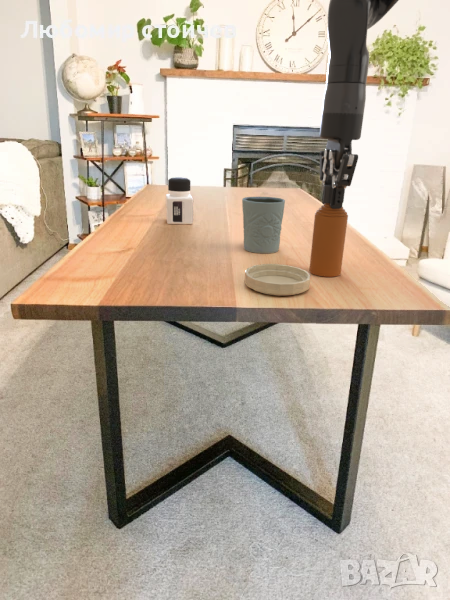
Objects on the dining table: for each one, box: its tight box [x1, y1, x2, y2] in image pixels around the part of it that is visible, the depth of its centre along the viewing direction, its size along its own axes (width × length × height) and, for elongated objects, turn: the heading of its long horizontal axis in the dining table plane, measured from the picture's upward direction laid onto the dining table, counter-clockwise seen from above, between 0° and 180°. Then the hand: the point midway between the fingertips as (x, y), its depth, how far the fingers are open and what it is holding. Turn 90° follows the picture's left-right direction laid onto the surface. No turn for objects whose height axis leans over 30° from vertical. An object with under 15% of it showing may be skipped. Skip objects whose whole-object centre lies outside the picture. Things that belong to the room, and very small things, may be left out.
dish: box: [244, 263, 312, 297], centre depth 83 cm, size 12×12×2 cm
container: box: [165, 176, 194, 225], centre depth 133 cm, size 8×8×13 cm
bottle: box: [309, 203, 349, 278], centre depth 89 cm, size 6×6×17 cm
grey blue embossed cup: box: [241, 196, 286, 254], centre depth 106 cm, size 10×10×12 cm
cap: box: [321, 185, 346, 204], centre depth 86 cm, size 4×4×3 cm
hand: (331, 205), depth 87 cm, fingers closed on cap, 3 cm apart
